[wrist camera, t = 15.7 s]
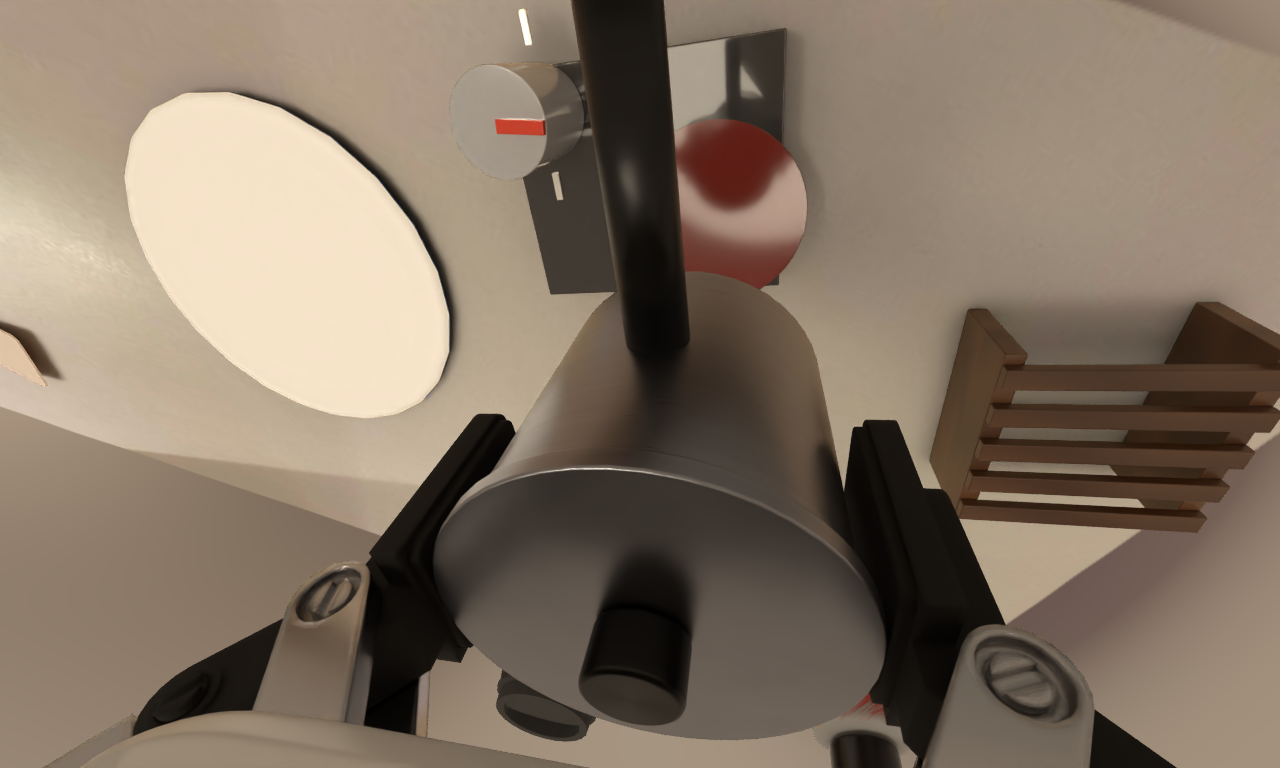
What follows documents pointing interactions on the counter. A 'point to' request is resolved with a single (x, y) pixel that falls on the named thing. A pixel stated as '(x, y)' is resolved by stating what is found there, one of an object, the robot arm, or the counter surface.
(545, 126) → the hob knob
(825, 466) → the saucepan
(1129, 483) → the drying rack
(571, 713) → the coffee cup
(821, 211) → the counter surface
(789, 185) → the burner ring
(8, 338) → the spatula
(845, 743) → the lotion bottle
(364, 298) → the plate
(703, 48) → the hob
